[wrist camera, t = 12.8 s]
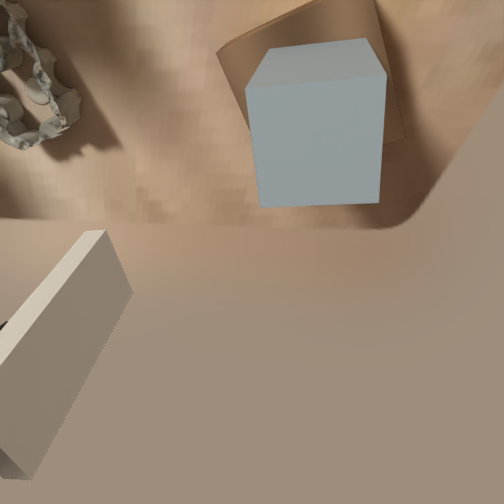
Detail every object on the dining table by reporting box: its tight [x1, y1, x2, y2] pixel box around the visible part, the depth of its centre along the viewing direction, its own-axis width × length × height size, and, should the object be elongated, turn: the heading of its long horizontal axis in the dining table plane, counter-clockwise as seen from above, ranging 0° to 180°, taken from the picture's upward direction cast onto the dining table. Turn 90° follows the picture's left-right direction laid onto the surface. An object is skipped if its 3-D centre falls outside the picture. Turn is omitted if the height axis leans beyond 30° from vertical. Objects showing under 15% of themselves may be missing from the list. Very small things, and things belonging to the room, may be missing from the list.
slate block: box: [245, 38, 387, 208], centre depth 23 cm, size 6×6×10 cm
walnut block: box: [216, 0, 406, 146], centre depth 29 cm, size 10×10×5 cm
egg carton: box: [0, 0, 82, 150], centre depth 32 cm, size 11×8×4 cm
